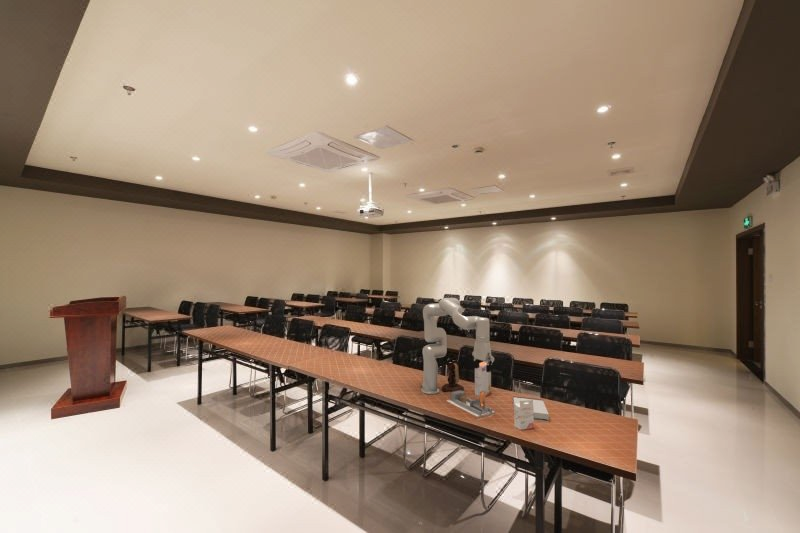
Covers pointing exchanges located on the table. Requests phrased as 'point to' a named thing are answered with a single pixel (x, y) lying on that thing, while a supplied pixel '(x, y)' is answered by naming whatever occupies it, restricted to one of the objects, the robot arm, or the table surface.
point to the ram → (480, 403)
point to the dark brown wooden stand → (453, 378)
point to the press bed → (467, 404)
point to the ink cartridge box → (523, 415)
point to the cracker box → (482, 379)
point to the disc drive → (535, 408)
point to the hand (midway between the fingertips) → (482, 369)
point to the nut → (463, 399)
